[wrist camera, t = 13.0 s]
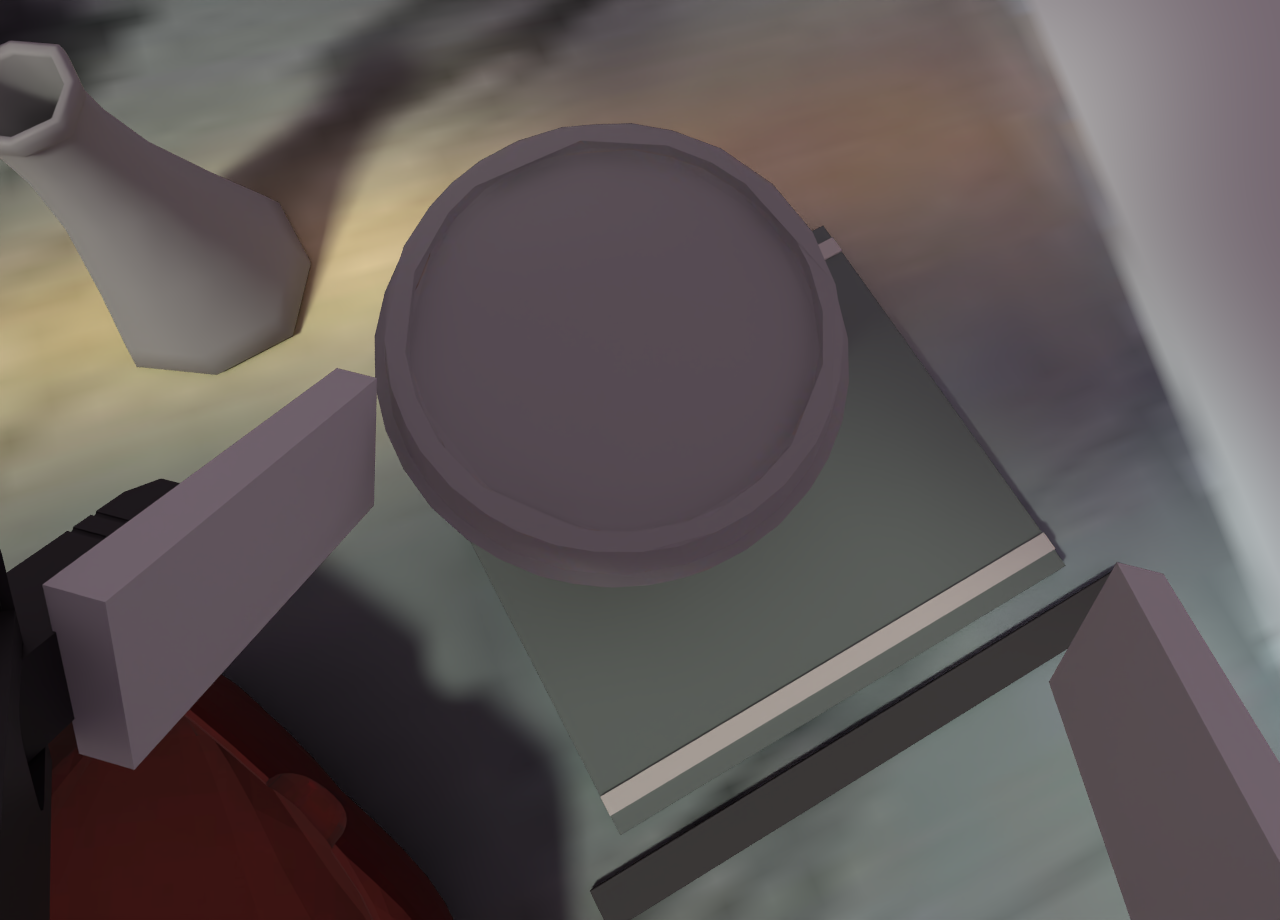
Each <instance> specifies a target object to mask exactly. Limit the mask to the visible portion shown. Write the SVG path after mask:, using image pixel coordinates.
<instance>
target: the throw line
mask: <svg viewBox="0 0 1280 920" xmlns="http://www.w3.org/2000/svg"><path fill="white" fill-rule="evenodd" d="M1110 573H1111V572H1110ZM1110 573H1108V574H1107V575H1105V576H1104V577H1102V578H1100V579H1099V580H1097V581H1095V582H1094V583H1092V584H1090V585H1089V586H1087V587H1086V588H1084V589H1082V590H1081V591H1079V592H1077V593H1076V594H1074V595H1072V596H1071V597H1069V598H1068V599H1066V600H1064V601H1063V602H1061V603H1059V604H1058V605H1056V606H1054V607H1053V608H1051V609H1050V610H1048V611H1046V612H1045V613H1043V614H1041V615H1040V616H1038V617H1036V618H1035V619H1033V620H1032V621H1030V622H1028V623H1027V624H1025V625H1023V626H1022V627H1020V628H1018V629H1017V630H1015V631H1014V632H1012V633H1010V634H1009V635H1007V636H1005V637H1004V638H1002V639H1000V640H999V641H997V642H996V643H994V644H992V645H991V646H989V647H987V648H986V649H984V650H982V651H981V652H979V653H978V654H976V655H974V656H973V657H971V658H969V659H968V660H966V661H964V662H963V663H961V664H960V665H958V666H956V667H955V668H953V669H951V670H950V671H948V672H946V673H945V674H943V675H942V676H940V677H938V678H937V679H935V680H933V681H932V682H930V683H928V684H927V685H925V686H924V687H922V688H920V689H919V690H917V691H915V692H914V693H912V694H910V695H909V696H907V697H906V698H904V699H902V700H901V701H899V702H897V703H896V704H894V705H892V706H891V707H889V708H888V709H886V710H884V711H883V712H881V713H879V714H878V715H876V716H874V717H873V718H871V719H870V720H868V721H866V722H865V723H863V724H861V725H860V726H858V727H856V728H855V729H853V730H852V731H850V732H848V733H847V734H845V735H843V736H842V737H840V738H838V739H837V740H835V741H834V742H832V743H830V744H829V745H827V746H825V747H824V748H822V749H820V750H819V751H817V752H816V753H814V754H812V755H811V756H809V757H807V758H806V759H804V760H802V761H801V762H799V763H798V764H796V765H794V766H793V767H791V768H789V769H788V770H786V771H784V772H783V773H781V774H780V775H778V776H776V777H775V778H773V779H771V780H770V781H768V782H766V783H765V784H763V785H762V786H760V787H758V788H757V789H755V790H753V791H752V792H750V793H748V794H747V795H745V796H744V797H742V798H740V799H739V800H737V801H735V802H734V803H732V804H730V805H729V806H727V807H726V808H724V809H722V810H721V811H719V812H717V813H716V814H714V815H712V816H711V817H709V818H708V819H706V820H704V821H703V822H701V823H699V824H698V825H696V826H694V827H693V828H691V829H689V830H688V831H686V832H685V833H683V834H681V835H680V836H678V837H676V838H675V839H673V840H671V841H670V842H668V843H667V844H665V845H663V846H662V847H660V848H658V849H657V850H655V851H653V852H652V853H650V854H649V855H647V856H645V857H644V858H642V859H640V860H639V861H637V862H635V863H634V864H632V865H631V866H629V867H627V868H626V869H624V870H622V871H621V872H619V873H617V874H616V875H614V876H613V877H611V878H609V879H608V880H606V881H604V882H603V883H601V884H599V885H598V886H596V887H595V888H593V889H591V890H590V892H591V894H592V896H593V899H594V901H595V903H596V905H597V907H598V909H599V911H600V913H601V915H602V917H603V919H604V920H631V919H632V918H634V917H636V916H637V915H639V914H641V913H642V912H644V911H645V910H647V909H649V908H650V907H652V906H653V905H655V904H657V903H658V902H660V901H661V900H663V899H665V898H666V897H668V896H670V895H671V894H673V893H674V892H676V891H678V890H679V889H681V888H682V887H684V886H686V885H687V884H689V883H690V882H692V881H694V880H695V879H697V878H699V877H700V876H702V875H703V874H705V873H707V872H708V871H710V870H711V869H713V868H715V867H716V866H718V865H720V864H721V863H723V862H724V861H726V860H728V859H729V858H731V857H732V856H734V855H736V854H737V853H739V852H740V851H742V850H744V849H745V848H747V847H749V846H750V845H752V844H753V843H755V842H757V841H758V840H760V839H761V838H763V837H765V836H766V835H768V834H769V833H771V832H773V831H774V830H776V829H778V828H779V827H781V826H782V825H784V824H786V823H787V822H789V821H790V820H792V819H794V818H795V817H797V816H799V815H800V814H802V813H803V812H805V811H807V810H808V809H810V808H811V807H813V806H815V805H816V804H818V803H819V802H821V801H823V800H824V799H826V798H828V797H829V796H831V795H832V794H834V793H836V792H837V791H839V790H840V789H842V788H844V787H845V786H847V785H848V784H850V783H852V782H853V781H855V780H857V779H858V778H860V777H861V776H863V775H865V774H866V773H868V772H869V771H871V770H873V769H874V768H876V767H878V766H879V765H881V764H882V763H884V762H886V761H887V760H889V759H890V758H892V757H894V756H895V755H897V754H898V753H900V752H902V751H903V750H905V749H907V748H908V747H910V746H911V745H913V744H915V743H916V742H918V741H919V740H921V739H923V738H924V737H926V736H927V735H929V734H931V733H932V732H934V731H936V730H937V729H939V728H940V727H942V726H944V725H945V724H947V723H948V722H950V721H952V720H953V719H955V718H957V717H958V716H960V715H961V714H963V713H965V712H966V711H968V710H969V709H971V708H973V707H974V706H976V705H977V704H979V703H981V702H982V701H984V700H986V699H987V698H989V697H990V696H992V695H994V694H995V693H997V692H998V691H1000V690H1002V689H1003V688H1005V687H1007V686H1008V685H1010V684H1011V683H1013V682H1015V681H1016V680H1018V679H1019V678H1021V677H1023V676H1024V675H1026V674H1027V673H1029V672H1031V671H1032V670H1034V669H1036V668H1037V667H1039V666H1040V665H1042V664H1044V663H1045V662H1047V661H1048V660H1050V659H1052V658H1053V657H1055V656H1056V655H1058V654H1060V653H1061V652H1063V651H1065V650H1066V649H1068V648H1069V646H1070V644H1071V642H1072V640H1073V639H1074V637H1075V635H1076V633H1077V632H1078V630H1079V628H1080V626H1081V625H1082V623H1083V621H1084V619H1085V618H1086V616H1087V614H1088V612H1089V610H1090V609H1091V607H1092V605H1093V603H1094V602H1095V600H1096V598H1097V596H1098V595H1099V593H1100V591H1101V589H1102V588H1103V586H1104V584H1105V582H1106V581H1107V579H1108V577H1109V575H1110Z"/></svg>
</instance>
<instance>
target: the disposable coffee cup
mask: <svg viewBox="0 0 1280 920" xmlns="http://www.w3.org/2000/svg"><path fill="white" fill-rule="evenodd" d="M375 378H377V395H378V400H379V404H380V408H381V412H382V417H383V421H384V425H385V429H386V432H387V434H388V436H389V438H390V441H391V443H392V445H393V447H394V449H395V451H396V453H397V456H398V458H399V460H400V462H401V464H402V466H403V469H404V470H405V471H406V473H407V474H408V476H409V477H410V478H411V480H412V481H413V483H414V484H415V485H416V487H417V488H418V490H419V491H420V492H421V494H422V495H423V497H424V498H425V499H426V501H427V502H428V504H429V505H430V506H431V507H432V508H433V509H434V510H435V511H436V512H437V513H438V514H439V515H440V516H442V517H443V518H444V519H445V520H446V521H447V522H448V523H449V524H451V525H452V526H453V527H454V528H455V529H456V530H457V531H458V532H459V533H461V534H462V535H463V536H464V537H465V538H466V539H467V540H469V541H471V542H472V543H474V544H475V545H477V546H479V547H480V548H482V549H484V550H485V551H487V552H488V553H490V554H492V555H493V556H495V557H496V558H498V559H500V560H503V561H505V562H507V563H510V564H512V565H514V566H517V567H519V568H521V569H524V570H526V571H528V572H531V573H533V574H535V575H538V576H541V577H545V578H549V579H553V580H558V581H563V582H567V583H572V584H580V585H588V586H597V587H610V588H613V587H628V586H643V585H652V584H657V583H663V582H668V581H673V580H676V579H680V578H684V577H687V576H691V575H694V574H697V573H700V572H703V571H705V570H708V569H710V568H712V567H714V566H716V565H718V564H720V563H722V562H724V561H726V560H728V559H730V558H732V557H734V556H735V555H737V554H739V553H741V552H743V551H745V550H747V549H748V548H749V547H751V546H752V545H753V544H755V543H756V542H757V541H759V540H760V539H761V538H763V537H764V536H765V535H767V534H768V533H769V532H770V531H772V530H773V529H774V528H776V527H777V526H778V525H779V524H780V523H781V522H782V521H783V520H784V519H785V518H786V516H787V515H788V514H789V513H790V512H791V511H792V510H793V508H794V507H795V506H796V505H797V504H798V503H799V502H800V500H801V499H802V498H803V497H804V496H805V495H806V494H807V492H808V491H809V490H810V489H811V487H812V485H813V484H814V482H815V480H816V479H817V477H818V475H819V473H820V472H821V470H822V468H823V467H824V465H825V463H826V461H827V460H828V458H829V456H830V453H831V450H832V448H833V445H834V442H835V440H836V437H837V434H838V432H839V429H840V426H841V424H842V421H843V415H844V409H845V403H846V396H847V390H848V384H849V361H848V337H847V333H846V329H845V325H844V321H843V317H842V313H841V309H840V306H839V302H838V296H837V290H836V284H835V282H834V280H833V277H832V275H831V273H830V271H829V268H828V266H827V264H826V261H825V259H824V257H823V255H822V252H821V250H820V248H819V246H818V243H817V241H816V239H815V236H814V234H813V232H812V231H811V230H810V228H809V227H808V226H807V225H806V224H805V222H804V221H803V220H802V219H801V218H800V216H799V215H798V214H797V213H796V212H795V210H794V209H793V208H792V207H791V206H790V204H789V203H788V202H787V201H786V200H785V198H784V197H783V196H782V195H781V194H780V192H779V191H778V190H777V189H776V188H775V186H774V185H773V184H772V183H770V182H769V181H767V180H766V179H764V178H763V177H762V176H760V175H759V174H757V173H756V172H754V171H753V170H751V169H750V168H748V167H747V166H746V165H744V164H743V163H741V162H740V161H738V160H737V159H735V158H734V157H732V156H731V155H730V154H728V153H727V152H725V151H724V150H722V149H721V148H718V147H715V146H713V145H710V144H707V143H705V142H702V141H699V140H697V139H694V138H691V137H689V136H686V135H683V134H680V133H678V132H675V131H672V130H666V129H661V128H655V127H649V126H643V125H637V124H632V123H629V124H596V125H583V126H571V127H561V128H558V129H555V130H551V131H548V132H545V133H542V134H538V135H535V136H532V137H529V138H526V139H522V140H519V141H516V142H515V143H513V144H511V145H509V146H507V147H505V148H503V149H501V150H500V151H498V152H496V153H494V154H492V155H490V156H488V157H486V158H484V159H483V160H481V161H479V162H478V163H477V164H475V165H474V166H473V167H472V168H470V169H469V170H468V171H466V172H465V173H464V174H463V175H461V176H460V177H459V178H458V179H456V180H455V181H454V182H452V183H451V184H450V185H449V187H448V188H447V189H446V190H445V191H444V192H443V193H442V194H441V195H440V196H439V197H438V198H437V199H436V200H435V202H434V203H433V204H432V205H431V206H430V207H429V209H428V210H427V212H426V213H425V215H424V216H423V218H422V219H421V221H420V222H419V224H418V225H417V227H416V229H415V230H414V232H413V233H412V235H411V236H410V238H409V239H408V241H407V242H406V244H405V245H404V248H403V251H402V254H401V257H400V260H399V262H398V264H397V266H396V269H395V271H394V273H393V275H392V277H391V280H390V282H389V284H388V286H387V289H386V291H385V294H384V299H383V303H382V307H381V312H380V316H379V320H378V325H377V329H376V333H375Z"/></svg>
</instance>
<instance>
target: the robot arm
mask: <svg viewBox="0 0 1280 920" xmlns="http://www.w3.org/2000/svg"><path fill="white" fill-rule="evenodd" d="M376 399H377V378H374V377H370V376H366V375H362V374H358V373H354V372H350V371H346V370H342V369H338V368H336V369H335V370H334V371H332V372H331V373H330V374H328V375H327V376H326V377H324V378H323V379H322V380H320V381H319V382H317V383H316V384H315V385H313V386H312V387H311V388H309V389H308V390H307V391H305V392H304V393H302V394H301V395H300V396H298V397H297V398H296V399H294V400H293V401H292V402H290V403H289V404H287V405H286V406H285V407H283V408H282V409H281V410H279V411H278V412H277V413H275V414H274V415H273V416H271V417H270V418H268V419H267V420H266V421H264V422H263V423H262V424H260V425H259V426H258V427H256V428H255V429H253V430H252V431H251V432H249V433H248V434H247V435H245V436H244V437H243V438H241V439H240V440H239V441H237V442H236V443H234V444H233V445H232V446H230V447H229V448H228V449H226V450H225V451H224V452H222V453H221V454H219V455H218V456H217V457H215V458H214V459H213V460H211V461H210V462H209V463H207V464H206V465H204V466H203V467H202V468H200V469H199V470H198V471H196V472H195V473H194V474H192V475H191V476H190V477H188V478H187V479H185V480H184V481H183V482H181V483H176V482H173V481H169V480H165V479H158V480H156V481H153V482H150V483H147V484H145V485H142V486H139V487H136V488H134V489H131V490H128V491H125V492H123V493H122V494H120V495H119V496H118V497H116V498H115V499H113V500H112V501H110V502H109V503H107V504H106V505H104V506H103V507H102V508H100V509H99V510H97V511H96V514H95V516H93V515H90V516H88V517H87V518H86V519H84V520H83V521H81V522H80V523H78V524H77V525H75V526H74V527H73V530H72V531H71V532H69V531H67V532H65V533H64V534H62V535H61V536H59V537H58V538H56V539H55V540H54V541H52V542H51V543H49V544H48V545H46V546H45V547H43V548H42V549H41V550H39V551H38V552H36V553H35V554H33V555H32V556H30V557H29V558H27V559H26V560H25V561H23V562H22V563H20V564H19V565H17V566H16V567H14V568H13V569H11V570H10V571H9V572H7V573H6V570H5V565H4V561H3V557H2V553H1V550H0V920H50V859H51V792H52V759H51V755H50V751H49V747H48V744H49V743H50V742H51V741H52V740H53V739H54V738H55V737H56V736H57V735H58V734H59V733H60V732H62V731H63V730H64V729H65V728H66V727H67V726H68V725H69V724H70V723H71V722H72V723H73V728H74V732H75V737H76V741H77V746H78V750H79V754H82V755H86V756H89V757H92V758H96V759H99V760H103V761H106V762H109V763H113V764H116V765H120V766H123V767H127V768H130V769H133V770H135V769H136V768H137V766H138V765H139V764H140V763H141V762H142V761H143V760H144V759H145V758H146V756H147V755H148V754H149V753H150V752H151V751H152V750H153V749H154V748H155V747H156V745H157V744H158V743H159V742H160V741H161V740H162V739H163V738H164V737H165V735H166V734H167V733H168V732H169V731H170V730H171V729H172V728H173V727H174V726H175V724H176V723H177V722H178V721H179V720H180V719H181V718H182V717H183V716H184V715H185V713H186V712H187V711H188V710H189V709H190V708H191V707H192V706H193V705H194V703H195V702H196V701H197V700H198V699H199V698H200V697H201V696H202V695H203V694H204V692H205V691H206V690H207V689H208V688H209V687H210V686H211V685H212V684H213V682H214V681H215V680H216V679H217V678H218V677H219V676H220V675H221V674H222V673H223V671H224V670H225V669H226V668H227V667H228V666H229V665H230V664H231V663H232V662H233V660H234V659H235V658H236V657H237V656H238V655H239V654H240V653H241V652H242V650H243V649H244V648H245V647H246V646H247V645H248V644H249V643H250V642H251V641H252V639H253V638H254V637H255V636H256V635H257V634H258V633H259V632H260V631H261V629H262V628H263V627H264V626H265V625H266V624H267V623H268V622H269V621H270V620H271V618H272V617H273V616H274V615H275V614H276V613H277V612H278V611H279V610H280V608H281V607H282V606H283V605H284V604H285V603H286V602H287V601H288V600H289V599H290V597H291V596H292V595H293V594H294V593H295V592H296V591H297V590H298V589H299V588H300V586H301V585H302V584H303V583H304V582H305V581H306V580H307V579H308V578H309V576H310V575H311V574H312V573H313V572H314V571H315V570H316V569H317V568H318V567H319V565H320V564H321V563H322V562H323V561H324V560H325V559H326V558H327V557H328V555H329V554H330V553H331V552H332V551H333V550H334V549H335V548H336V547H337V546H338V544H339V543H340V542H341V541H342V540H343V539H344V538H345V537H346V536H347V535H348V533H349V532H350V531H351V530H352V529H353V528H354V527H355V526H356V525H357V523H358V522H359V521H360V520H361V519H362V518H363V517H364V516H365V515H366V514H367V512H368V511H369V510H370V509H371V508H372V507H373V506H374V477H375V438H376ZM1049 683H1050V686H1051V689H1052V692H1053V695H1054V698H1055V701H1056V704H1057V707H1058V710H1059V712H1060V715H1061V718H1062V721H1063V724H1064V727H1065V730H1066V733H1067V736H1068V739H1069V741H1070V744H1071V747H1072V750H1073V753H1074V756H1075V759H1076V762H1077V765H1078V768H1079V771H1080V773H1081V776H1082V779H1083V782H1084V785H1085V788H1086V791H1087V794H1088V797H1089V800H1090V802H1091V805H1092V808H1093V811H1094V814H1095V817H1096V820H1097V823H1098V826H1099V829H1100V832H1101V834H1102V837H1103V840H1104V843H1105V846H1106V849H1107V852H1108V855H1109V858H1110V861H1111V863H1112V866H1113V869H1114V872H1115V875H1116V878H1117V881H1118V884H1119V887H1120V890H1121V893H1122V895H1123V898H1124V901H1125V904H1126V907H1127V910H1128V913H1129V916H1130V919H1131V920H1280V763H1279V761H1278V760H1277V758H1276V756H1275V755H1274V753H1273V752H1272V750H1271V748H1270V747H1269V745H1268V743H1267V742H1266V740H1265V739H1264V737H1263V735H1262V734H1261V732H1260V730H1259V729H1258V727H1257V726H1256V724H1255V722H1254V721H1253V719H1252V717H1251V716H1250V714H1249V713H1248V711H1247V709H1246V708H1245V706H1244V704H1243V703H1242V701H1241V700H1240V698H1239V696H1238V695H1237V693H1236V691H1235V690H1234V688H1233V687H1232V685H1231V683H1230V682H1229V680H1228V678H1227V677H1226V675H1225V673H1224V672H1223V670H1222V669H1221V667H1220V665H1219V664H1218V662H1217V660H1216V659H1215V657H1214V656H1213V654H1212V652H1211V651H1210V649H1209V647H1208V646H1207V644H1206V643H1205V641H1204V639H1203V638H1202V636H1201V634H1200V633H1199V631H1198V630H1197V628H1196V626H1195V625H1194V623H1193V621H1192V620H1191V618H1190V617H1189V615H1188V613H1187V612H1186V610H1185V608H1184V607H1183V605H1182V604H1181V602H1180V600H1179V599H1178V597H1177V595H1176V594H1175V592H1174V591H1173V589H1172V587H1171V586H1170V584H1169V582H1168V581H1167V579H1166V578H1165V576H1164V574H1162V573H1158V572H1154V571H1150V570H1146V569H1142V568H1138V567H1134V566H1130V565H1126V564H1122V563H1118V562H1117V563H1116V565H1115V566H1114V568H1113V570H1112V572H1111V573H1110V575H1109V577H1108V579H1107V581H1106V582H1105V584H1104V586H1103V588H1102V589H1101V591H1100V593H1099V595H1098V596H1097V598H1096V600H1095V602H1094V603H1093V605H1092V607H1091V609H1090V610H1089V612H1088V614H1087V616H1086V618H1085V619H1084V621H1083V623H1082V625H1081V626H1080V628H1079V630H1078V632H1077V633H1076V635H1075V637H1074V639H1073V640H1072V642H1071V644H1070V646H1069V648H1068V649H1067V651H1066V653H1065V655H1064V656H1063V658H1062V660H1061V662H1060V663H1059V665H1058V667H1057V669H1056V670H1055V672H1054V674H1053V676H1052V678H1051V679H1050V681H1049Z"/></svg>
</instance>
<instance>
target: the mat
mask: <svg viewBox="0 0 1280 920" xmlns="http://www.w3.org/2000/svg"><path fill="white" fill-rule="evenodd" d="M812 232H813V234H814V236H815V239H816V241H817V243H818V246H819V248H820V250H821V252H822V255H823V257H824V259H825V261H826V264H827V266H828V268H829V271H830V273H831V275H832V277H833V280H834V282H835V284H836V290H837V296H838V302H839V306H840V309H841V313H842V317H843V321H844V325H845V329H846V333H847V337H848V361H849V384H848V390H847V396H846V403H845V409H844V415H843V421H842V424H841V426H840V429H839V432H838V434H837V437H836V440H835V442H834V445H833V448H832V450H831V453H830V456H829V458H828V460H827V461H826V463H825V465H824V467H823V468H822V470H821V472H820V473H819V475H818V477H817V479H816V480H815V482H814V484H813V485H812V487H811V489H810V490H809V491H808V492H807V494H806V495H805V496H804V497H803V498H802V499H801V500H800V502H799V503H798V504H797V505H796V506H795V507H794V508H793V510H792V511H791V512H790V513H789V514H788V515H787V516H786V518H785V519H784V520H783V521H782V522H781V523H780V524H779V525H778V526H777V527H776V528H774V529H773V530H772V531H770V532H769V533H768V534H767V535H765V536H764V537H763V538H761V539H760V540H759V541H757V542H756V543H755V544H753V545H752V546H751V547H749V548H748V549H747V550H745V551H743V552H741V553H739V554H737V555H735V556H734V557H732V558H730V559H728V560H726V561H724V562H722V563H720V564H718V565H716V566H714V567H712V568H710V569H708V570H705V571H703V572H700V573H697V574H694V575H691V576H687V577H684V578H680V579H676V580H673V581H668V582H663V583H657V584H652V585H643V586H628V587H613V588H610V587H597V586H588V585H580V584H572V583H567V582H563V581H558V580H553V579H549V578H545V577H541V576H538V575H535V574H533V573H531V572H528V571H526V570H524V569H521V568H519V567H517V566H514V565H512V564H510V563H507V562H505V561H503V560H500V559H498V558H496V557H495V556H493V555H492V554H490V553H488V552H487V551H485V550H484V549H482V548H480V547H479V546H477V545H475V544H474V543H472V542H471V541H470V542H471V544H472V546H473V548H474V550H475V552H476V554H477V555H478V557H479V559H480V561H481V563H482V565H483V567H484V569H485V571H486V573H487V575H488V577H489V579H490V581H491V583H492V585H493V587H494V589H495V591H496V593H497V595H498V597H499V599H500V601H501V602H502V604H503V606H504V608H505V610H506V612H507V614H508V616H509V618H510V620H511V622H512V624H513V626H514V628H515V630H516V632H517V634H518V636H519V638H520V640H521V642H522V644H523V646H524V648H525V649H526V651H527V653H528V655H529V657H530V659H531V661H532V663H533V665H534V667H535V669H536V671H537V673H538V675H539V677H540V679H541V681H542V683H543V685H544V687H545V689H546V691H547V693H548V694H549V696H550V698H551V700H552V702H553V704H554V706H555V708H556V710H557V712H558V714H559V716H560V718H561V720H562V722H563V724H564V726H565V728H566V730H567V732H568V734H569V736H570V738H571V740H572V741H573V743H574V745H575V747H576V749H577V751H578V753H579V755H580V757H581V759H582V761H583V763H584V765H585V767H586V769H587V771H588V773H589V775H590V777H591V779H592V781H593V783H594V785H595V786H596V788H597V790H598V792H599V794H600V796H601V799H602V801H603V803H604V805H605V807H606V809H607V811H608V813H609V815H610V816H611V818H612V820H613V822H614V824H615V826H616V828H617V830H618V832H619V833H620V835H621V834H623V833H625V832H626V831H628V830H630V829H631V828H633V827H635V826H636V825H638V824H640V823H641V822H643V821H645V820H646V819H648V818H650V817H651V816H653V815H655V814H656V813H658V812H659V811H661V810H663V809H664V808H666V807H668V806H669V805H671V804H673V803H674V802H676V801H678V800H679V799H681V798H683V797H684V796H686V795H688V794H689V793H691V792H693V791H694V790H696V789H697V788H699V787H701V786H702V785H704V784H706V783H707V782H709V781H711V780H712V779H714V778H716V777H717V776H719V775H721V774H722V773H724V772H726V771H727V770H729V769H731V768H732V767H734V766H735V765H737V764H739V763H740V762H742V761H744V760H745V759H747V758H749V757H750V756H752V755H754V754H755V753H757V752H759V751H760V750H762V749H764V748H765V747H767V746H769V745H770V744H772V743H774V742H775V741H777V740H778V739H780V738H782V737H783V736H785V735H787V734H788V733H790V732H792V731H793V730H795V729H797V728H798V727H800V726H802V725H803V724H805V723H807V722H808V721H810V720H812V719H813V718H815V717H816V716H818V715H820V714H821V713H823V712H825V711H826V710H828V709H830V708H831V707H833V706H835V705H836V704H838V703H840V702H841V701H843V700H845V699H846V698H848V697H850V696H851V695H853V694H855V693H856V692H858V691H859V690H861V689H863V688H864V687H866V686H868V685H869V684H871V683H873V682H874V681H876V680H878V679H879V678H881V677H883V676H884V675H886V674H888V673H889V672H891V671H893V670H894V669H896V668H897V667H899V666H901V665H902V664H904V663H906V662H907V661H909V660H911V659H912V658H914V657H916V656H917V655H919V654H921V653H922V652H924V651H926V650H927V649H929V648H931V647H932V646H934V645H936V644H937V643H939V642H940V641H942V640H944V639H945V638H947V637H949V636H950V635H952V634H954V633H955V632H957V631H959V630H960V629H962V628H964V627H965V626H967V625H969V624H970V623H972V622H974V621H975V620H977V619H978V618H980V617H982V616H983V615H985V614H987V613H988V612H990V611H992V610H993V609H995V608H997V607H998V606H1000V605H1002V604H1003V603H1005V602H1007V601H1008V600H1010V599H1012V598H1013V597H1015V596H1017V595H1018V594H1020V593H1021V592H1023V591H1025V590H1026V589H1028V588H1030V587H1031V586H1033V585H1035V584H1036V583H1038V582H1040V581H1041V580H1043V579H1045V578H1046V577H1048V576H1050V575H1051V574H1053V573H1055V572H1056V571H1058V570H1059V569H1061V568H1063V567H1064V566H1066V565H1065V564H1064V563H1063V561H1062V560H1061V558H1060V557H1059V556H1058V554H1057V553H1056V551H1055V550H1054V549H1055V547H1054V546H1053V545H1052V543H1051V542H1050V540H1049V539H1048V538H1047V536H1046V535H1045V533H1042V532H1041V530H1040V529H1039V528H1038V526H1037V525H1036V523H1035V522H1034V521H1033V519H1032V518H1031V516H1030V515H1029V514H1028V512H1027V511H1026V509H1025V508H1024V507H1023V505H1022V504H1021V502H1020V501H1019V500H1018V498H1017V497H1016V495H1015V494H1014V493H1013V491H1012V490H1011V488H1010V487H1009V486H1008V484H1007V483H1006V481H1005V480H1004V479H1003V477H1002V476H1001V474H1000V473H999V472H998V470H997V469H996V467H995V466H994V465H993V463H992V462H991V460H990V459H989V458H988V456H987V455H986V453H985V452H984V450H983V449H982V448H981V446H980V445H979V443H978V442H977V441H976V439H975V438H974V436H973V435H972V434H971V432H970V431H969V429H968V428H967V427H966V425H965V424H964V422H963V421H962V420H961V418H960V417H959V415H958V414H957V413H956V411H955V410H954V408H953V407H952V406H951V404H950V403H949V401H948V400H947V399H946V397H945V396H944V394H943V393H942V392H941V390H940V389H939V387H938V386H937V385H936V383H935V382H934V380H933V379H932V378H931V376H930V375H929V373H928V372H927V371H926V369H925V368H924V366H923V365H922V364H921V362H920V361H919V359H918V358H917V357H916V355H915V354H914V352H913V351H912V350H911V348H910V347H909V345H908V344H907V343H906V341H905V340H904V338H903V337H902V336H901V334H900V333H899V331H898V330H897V329H896V327H895V326H894V324H893V323H892V322H891V320H890V319H889V317H888V316H887V315H886V313H885V312H884V310H883V309H882V308H881V306H880V305H879V303H878V302H877V301H876V299H875V298H874V296H873V295H872V294H871V292H870V291H869V289H868V288H867V287H866V285H865V284H864V282H863V281H862V280H861V278H860V277H859V275H858V274H857V273H856V271H855V270H854V268H853V267H852V266H851V264H850V263H849V261H848V260H847V259H846V257H845V256H844V254H843V253H842V249H841V248H840V246H839V245H838V244H837V242H836V241H835V239H834V238H833V237H831V236H830V235H829V233H828V232H827V230H826V229H825V228H824V226H821V227H819V228H817V229H815V230H814V231H812Z"/></svg>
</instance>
